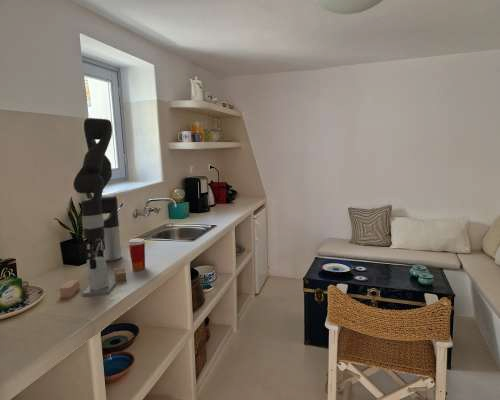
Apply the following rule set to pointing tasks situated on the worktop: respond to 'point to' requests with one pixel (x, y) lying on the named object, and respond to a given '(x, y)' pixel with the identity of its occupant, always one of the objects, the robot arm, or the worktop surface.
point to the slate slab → (99, 292)
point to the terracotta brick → (69, 288)
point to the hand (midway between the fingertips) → (97, 264)
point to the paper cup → (137, 253)
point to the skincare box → (98, 274)
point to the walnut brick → (120, 275)
